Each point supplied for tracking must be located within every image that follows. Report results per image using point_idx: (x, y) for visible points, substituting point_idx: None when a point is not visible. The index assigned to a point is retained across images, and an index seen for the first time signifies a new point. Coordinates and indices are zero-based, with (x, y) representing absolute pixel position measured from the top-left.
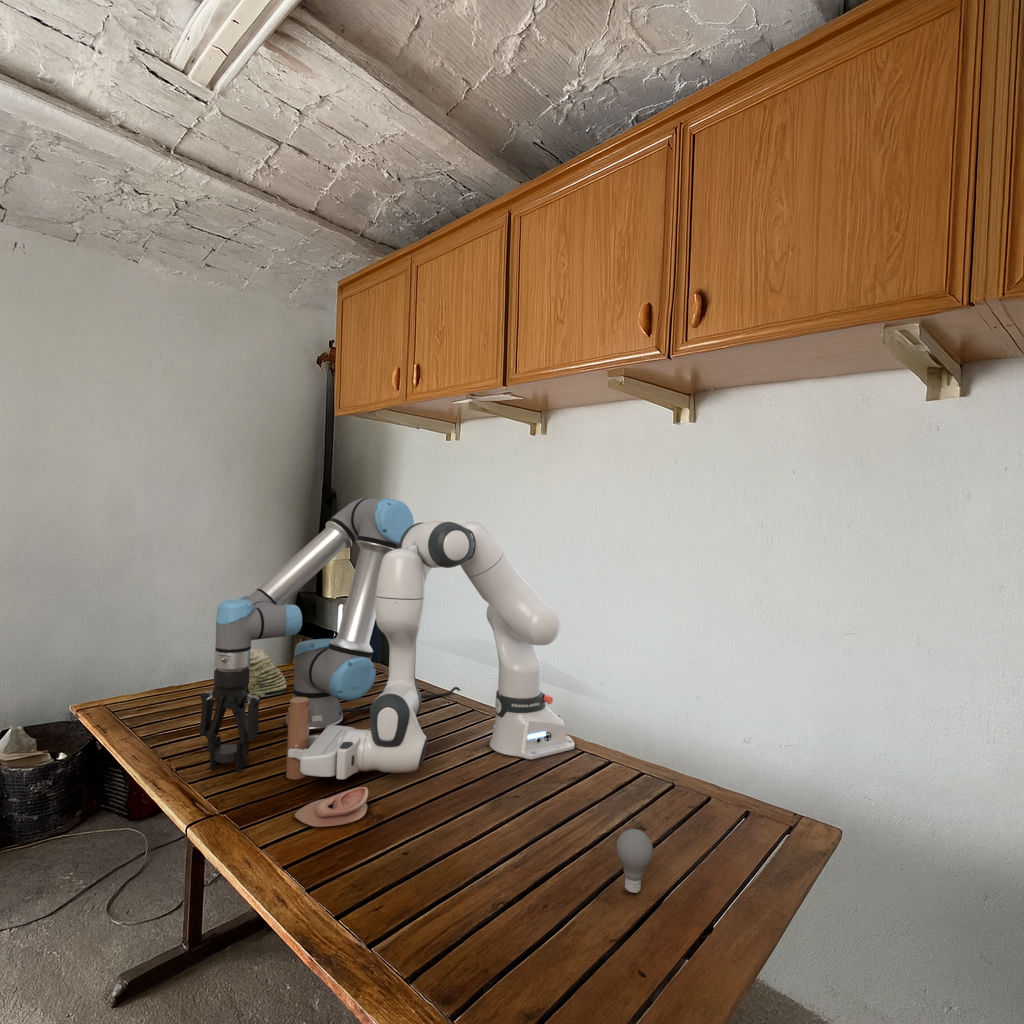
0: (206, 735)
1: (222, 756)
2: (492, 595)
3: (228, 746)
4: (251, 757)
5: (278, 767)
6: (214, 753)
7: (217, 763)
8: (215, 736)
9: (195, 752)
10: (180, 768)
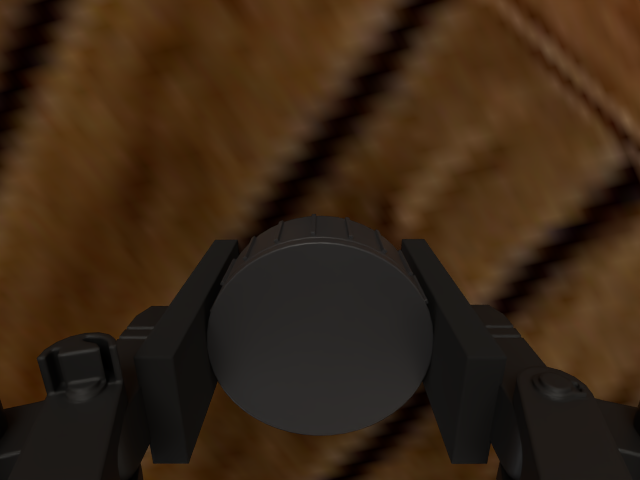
0: (607, 413)
1: (305, 234)
2: None
3: (346, 389)
4: None
5: (21, 343)
6: (408, 269)
7: None
8: (498, 437)
9: None
10: (618, 198)
